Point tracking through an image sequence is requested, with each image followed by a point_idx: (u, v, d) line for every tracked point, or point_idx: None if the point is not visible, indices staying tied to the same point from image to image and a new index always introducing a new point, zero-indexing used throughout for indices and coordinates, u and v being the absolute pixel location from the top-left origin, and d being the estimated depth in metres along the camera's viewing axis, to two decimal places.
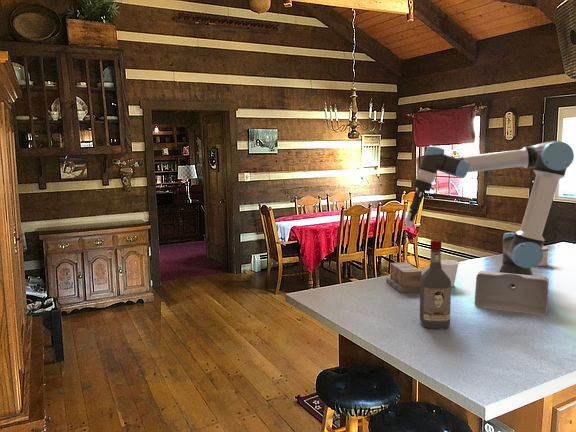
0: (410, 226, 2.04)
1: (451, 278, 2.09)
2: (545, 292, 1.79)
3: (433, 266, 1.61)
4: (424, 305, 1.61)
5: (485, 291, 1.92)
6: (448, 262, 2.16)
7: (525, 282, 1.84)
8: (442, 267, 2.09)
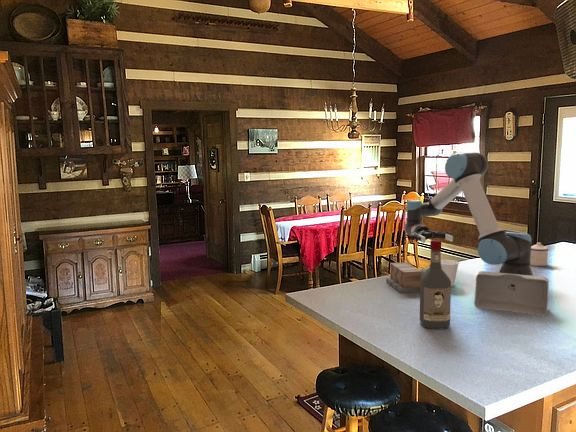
0: (423, 238, 2.20)
1: (451, 278, 2.09)
2: (545, 292, 1.79)
3: (433, 266, 1.61)
4: (424, 305, 1.61)
5: (485, 291, 1.91)
6: (448, 262, 2.16)
7: (524, 282, 1.84)
8: (442, 267, 2.09)
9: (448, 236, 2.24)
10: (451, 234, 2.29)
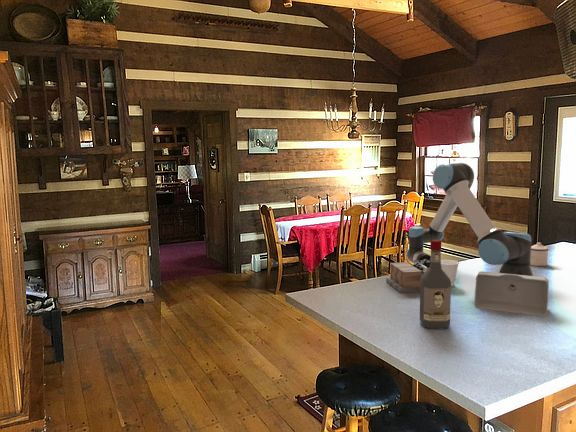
0: (425, 268, 2.18)
1: (451, 278, 2.09)
2: (545, 292, 1.79)
3: (433, 266, 1.61)
4: (424, 305, 1.61)
5: (485, 292, 1.91)
6: (448, 262, 2.16)
7: (524, 282, 1.83)
8: (442, 267, 2.09)
9: None
10: None
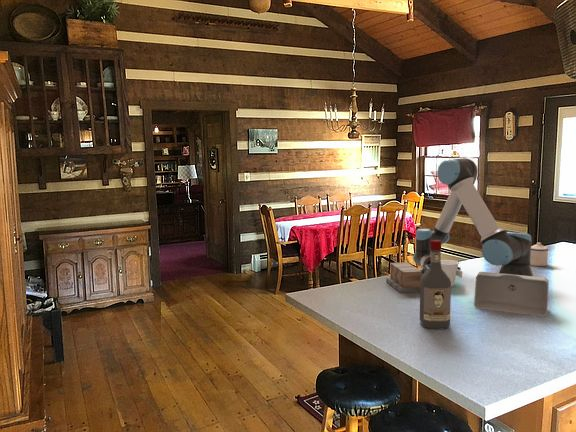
0: None
1: (451, 278, 2.09)
2: (545, 292, 1.78)
3: (433, 266, 1.61)
4: (424, 305, 1.61)
5: (485, 292, 1.90)
6: (448, 262, 2.16)
7: (524, 282, 1.83)
8: (442, 267, 2.09)
9: (457, 271, 2.11)
10: (460, 268, 2.16)
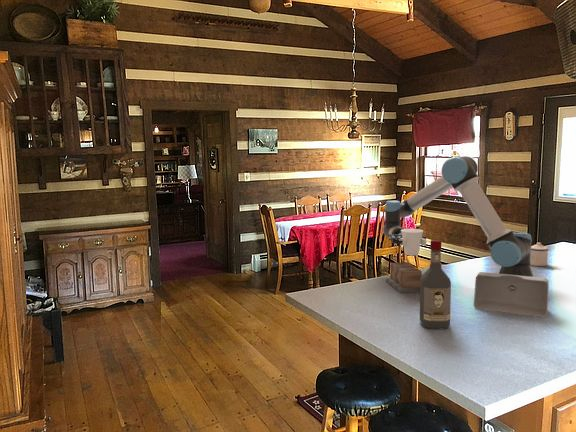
0: (404, 241, 2.08)
1: (415, 246, 2.09)
2: (545, 293, 1.78)
3: (433, 266, 1.61)
4: (424, 305, 1.61)
5: (484, 292, 1.90)
6: (413, 231, 2.15)
7: (524, 283, 1.82)
8: (406, 235, 2.08)
9: (421, 240, 2.11)
10: (425, 238, 2.15)
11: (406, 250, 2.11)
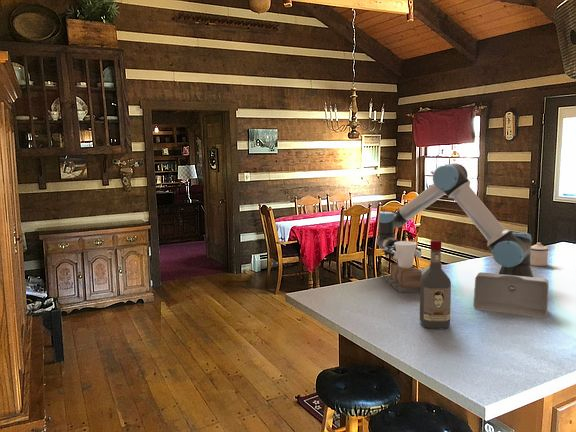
0: (396, 254, 2.07)
1: (409, 259, 2.08)
2: (545, 293, 1.77)
3: (433, 266, 1.61)
4: (424, 305, 1.61)
5: (484, 293, 1.89)
6: (407, 243, 2.15)
7: (524, 283, 1.82)
8: (400, 248, 2.08)
9: (417, 252, 2.11)
10: (420, 249, 2.15)
11: (400, 263, 2.10)
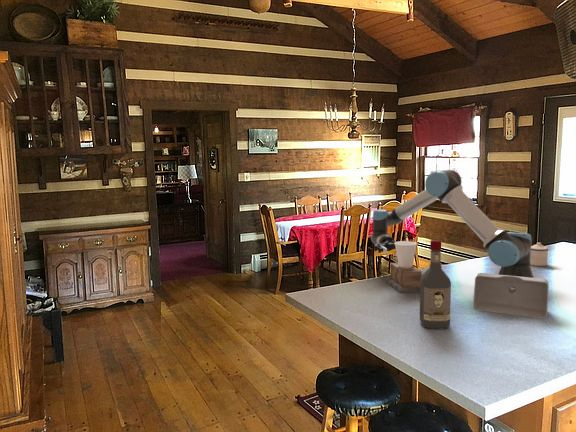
0: (384, 249, 2.17)
1: (409, 259, 2.08)
2: (545, 294, 1.76)
3: (433, 266, 1.61)
4: (424, 305, 1.61)
5: (484, 293, 1.88)
6: (407, 243, 2.15)
7: (524, 284, 1.81)
8: (400, 248, 2.08)
9: None
10: None
11: (400, 263, 2.10)
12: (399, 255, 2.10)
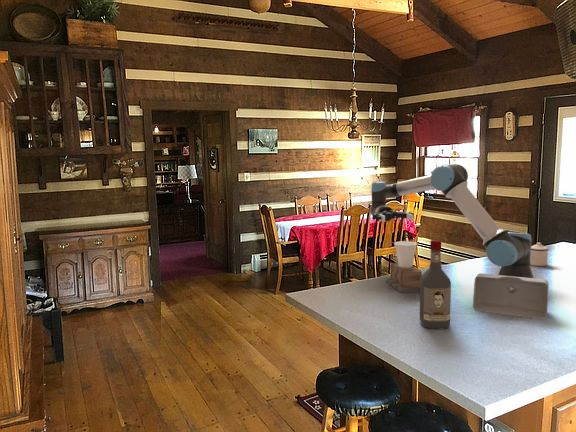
0: (383, 217, 2.19)
1: (409, 259, 2.08)
2: (545, 295, 1.75)
3: (433, 266, 1.61)
4: (424, 305, 1.61)
5: (484, 294, 1.88)
6: (407, 243, 2.15)
7: (524, 284, 1.80)
8: (400, 248, 2.08)
9: (409, 215, 2.23)
10: None
11: (400, 263, 2.10)
12: (399, 255, 2.10)
